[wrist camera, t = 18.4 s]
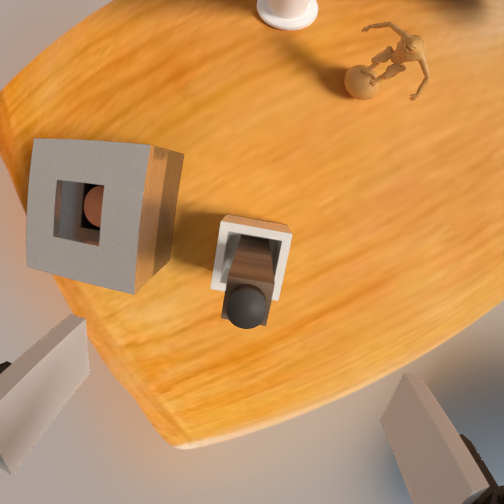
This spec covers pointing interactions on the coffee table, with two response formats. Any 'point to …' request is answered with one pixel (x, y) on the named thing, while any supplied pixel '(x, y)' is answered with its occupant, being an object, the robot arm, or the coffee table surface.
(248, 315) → the wood knob block
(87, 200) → the button
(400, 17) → the coffee table surface
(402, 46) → the figurine
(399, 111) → the coffee table surface
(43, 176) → the grey box with hole
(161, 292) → the coffee table surface
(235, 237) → the pen cup
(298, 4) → the candle
